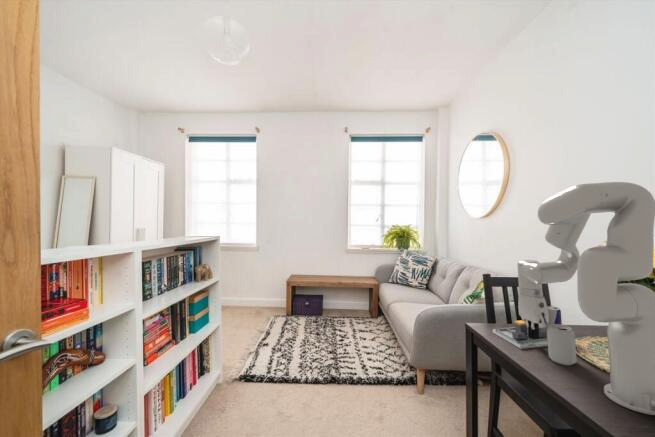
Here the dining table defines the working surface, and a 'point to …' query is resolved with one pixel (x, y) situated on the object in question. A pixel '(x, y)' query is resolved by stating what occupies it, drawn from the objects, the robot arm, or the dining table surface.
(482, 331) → the dining table surface
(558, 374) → the dining table surface
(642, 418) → the dining table surface
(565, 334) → the can
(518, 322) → the handle
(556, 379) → the dining table surface
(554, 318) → the energy drink
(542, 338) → the panel
